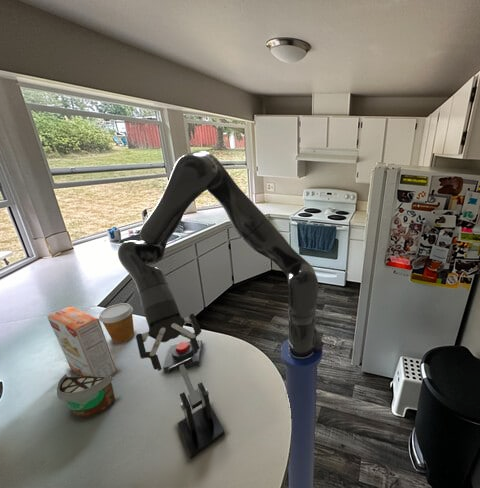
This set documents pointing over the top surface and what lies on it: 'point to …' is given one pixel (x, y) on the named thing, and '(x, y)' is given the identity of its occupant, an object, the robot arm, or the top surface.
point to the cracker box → (82, 342)
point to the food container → (86, 394)
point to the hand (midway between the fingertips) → (178, 361)
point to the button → (182, 347)
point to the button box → (182, 357)
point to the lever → (188, 383)
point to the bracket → (199, 424)
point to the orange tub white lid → (118, 322)
